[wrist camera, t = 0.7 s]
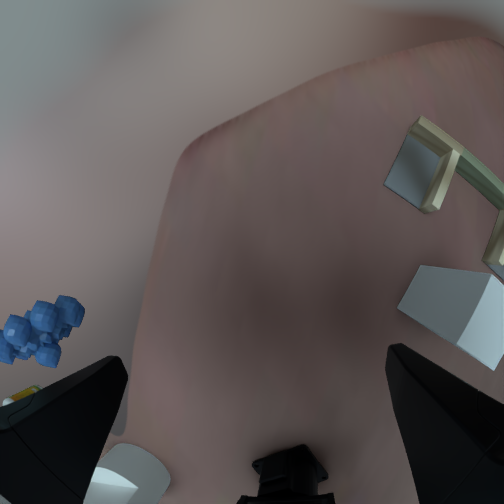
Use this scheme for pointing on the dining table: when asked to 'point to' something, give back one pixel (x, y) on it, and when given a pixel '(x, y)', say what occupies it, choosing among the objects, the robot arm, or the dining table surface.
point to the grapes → (40, 331)
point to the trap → (445, 179)
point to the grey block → (459, 309)
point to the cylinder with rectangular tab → (128, 477)
